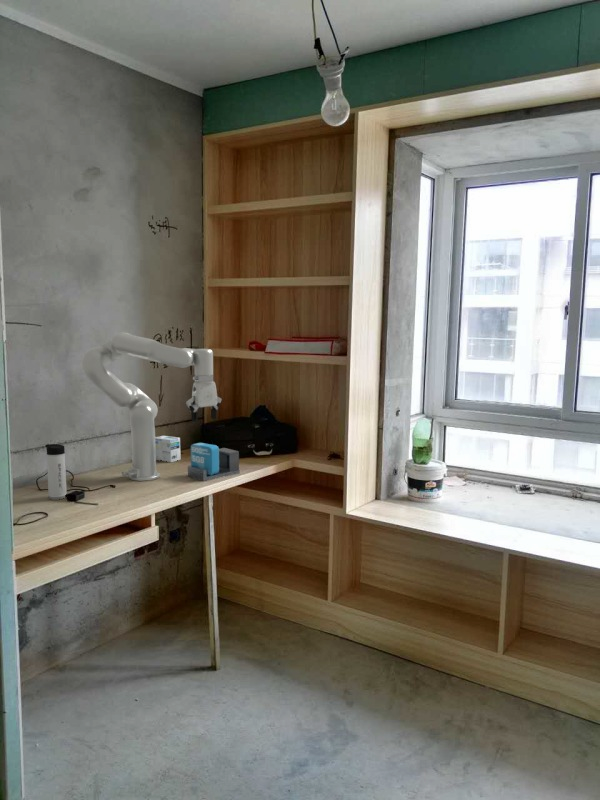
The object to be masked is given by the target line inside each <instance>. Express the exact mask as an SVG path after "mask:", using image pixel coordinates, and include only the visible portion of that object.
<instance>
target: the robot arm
mask: <svg viewBox="0 0 600 800" xmlns="http://www.w3.org/2000/svg"><path fill="white" fill-rule="evenodd" d="M124 356H129V357H130V356H131V357H134V358H138V359H143V360H145V361H149V362H155V363H160V364H163V365H167V366H172V367H178V368H180V369H181V368H182V369H183V368H187V367H191V366H194V376H193V377H192V380H193V381H194V382H193V384H192V391H191V398H189V399H188V400H186V401H185V404H186V407H187V408H188V410H189V412H190V413H191V422H196V423H197V422H198V419H199V418H198V417H199V416H198V415H199V414H198V413H199V412H198V409H199V408H209V407H210V408H211V409H210V419H211V420H217V417H218V409H219V407H220V406H221V402H222V400H223V399H222V398H221V397H219V396H218V393H217V392H218V391H217V386H216V382H215V381H214V352H213V350H212V349H209V348H189V347H183V348H179V347H175V346H171V345H168V344H163V343H161V342H159V341H157V340H155V339H152V338H148V337H143V336H138V335H134V334H131V333H129V332H125V331H124V332H117V333H115V334H114V335H113V336H112V338H111V339H109V340H107V342H104V343H102V344H100V345H99V346H94V347H91V348H89V349H88V350H87V351H86V352H85V353H84V355H83V357H82V361H81V367H82V368H81V369H82V371H83V374H84V377H86V379H87V380H88V381H89V382H90V383H91V384H92V385H93V386H94V387H95V388H96V389H98V390H99V392H101V393H102V394H103V395H104V396H106V398H107V399H109V400H110V401H111V402H112V403H113V404H114V405H116V406H117V407H119V408H127V409H128V410H129V411H130V412H129V423H130V432H131V433H130V434H131V458H132V460H131V462H132V463H131V464H132V465H131V466H130V468H129V469H128V470H124V471H123V470H122V471H121V476H122V477H125V476H128V479H129V480H132V481H138V482H140V481H141V482H142V481H153V480H156V479H158V478H161V473H160V472H159V471H157V460H156V447H155V437H156V428H155V419H156V417H157V415H158V411H159V409H158V406H157V404H156V403H155V401H154V400H152V399H151V398H150V397H149V396H148V395H147V394H146V393H145V392H144V391H142V390H141V389H140V388H139V387H138V386H136V385H135V384H134V383H130V382H123V381H122V380H120V379H119V378H118V377H117V376H116V375H115V373H112V372H111V371H110V370H108V369H107V368H106V367H107V366H109V365H110V364H112V363H113V362H115V361H117V360H118V359H120V358H123V357H124Z"/></svg>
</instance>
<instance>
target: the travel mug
mask: <svg viewBox="0 0 600 800" xmlns="http://www.w3.org/2000/svg"><path fill="white" fill-rule="evenodd" d="M44 447H45V448H46V465H47V466H46V467H47V470H46V471H47V487H48V488H47V489H48V499H49V500H51V501H60V500H63V498H64V499H66V498H65V495H66V494H67V492H68V491H67V473H66V472H67V471H66V469H67V467H66V453H65V446H64V445H62V444H55V443H54V444H53V443H51V444H50V443H47V444H45V446H44ZM67 495H68V494H67ZM59 499H60V500H59Z"/></svg>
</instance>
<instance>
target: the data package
mask: <svg viewBox="0 0 600 800" xmlns="http://www.w3.org/2000/svg"><path fill="white" fill-rule="evenodd" d="M219 449H220V448H219V446H217V445H216V444H209V443H204V442H197V443H193V444H191V445H190V465H192V466H195V467H198V468H202V469H205V470H206V474H207V475H213V474H217V473H218V472H219Z"/></svg>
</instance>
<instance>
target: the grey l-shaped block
mask: <svg viewBox="0 0 600 800" xmlns="http://www.w3.org/2000/svg"><path fill="white" fill-rule="evenodd" d="M239 452H240V451H238V450H234V449H231V448H226V447H222V448H219V472H218V473H217V474H213V475H207V474H206V470H205V469H202V468H198V467H195V466H192V465H191V464H190V465H187V477H189V478H192V479H195V480H198V479H199V481H201V480H202V482H207V481H211V480H215V478H216V479H219V478H220V477H221V478H224V477H223V476H225V477H229V476H228V475H230V476H233V475H239V474H240V473H241V470H240V453H239Z"/></svg>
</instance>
